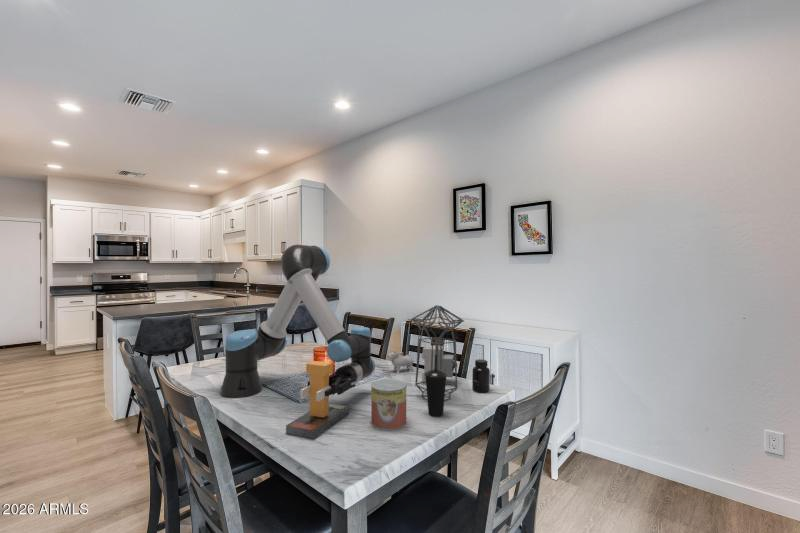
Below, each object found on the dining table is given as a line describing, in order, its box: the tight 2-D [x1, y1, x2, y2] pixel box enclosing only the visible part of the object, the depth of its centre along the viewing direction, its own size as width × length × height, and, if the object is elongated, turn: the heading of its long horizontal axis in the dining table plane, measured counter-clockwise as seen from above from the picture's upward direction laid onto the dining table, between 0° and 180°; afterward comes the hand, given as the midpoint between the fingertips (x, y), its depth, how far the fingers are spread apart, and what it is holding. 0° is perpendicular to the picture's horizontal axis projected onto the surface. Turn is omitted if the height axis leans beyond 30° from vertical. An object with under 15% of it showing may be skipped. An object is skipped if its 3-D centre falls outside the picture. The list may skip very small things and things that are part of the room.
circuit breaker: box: [421, 344, 458, 386], centre depth 163 cm, size 8×14×15 cm, turn 78°
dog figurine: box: [386, 349, 414, 374], centre depth 181 cm, size 5×13×11 cm, turn 114°
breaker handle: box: [305, 360, 333, 418], centre depth 121 cm, size 4×7×16 cm, turn 68°
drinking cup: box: [424, 354, 448, 418], centre depth 129 cm, size 8×8×20 cm
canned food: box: [370, 379, 408, 431], centre depth 122 cm, size 11×11×12 cm
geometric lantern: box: [410, 304, 465, 402], centre depth 145 cm, size 16×16×35 cm
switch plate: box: [285, 403, 350, 440], centre depth 121 cm, size 20×10×3 cm, turn 158°
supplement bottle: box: [471, 359, 491, 394], centre depth 153 cm, size 7×7×12 cm
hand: (309, 395), depth 116 cm, fingers closed on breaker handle, 5 cm apart
